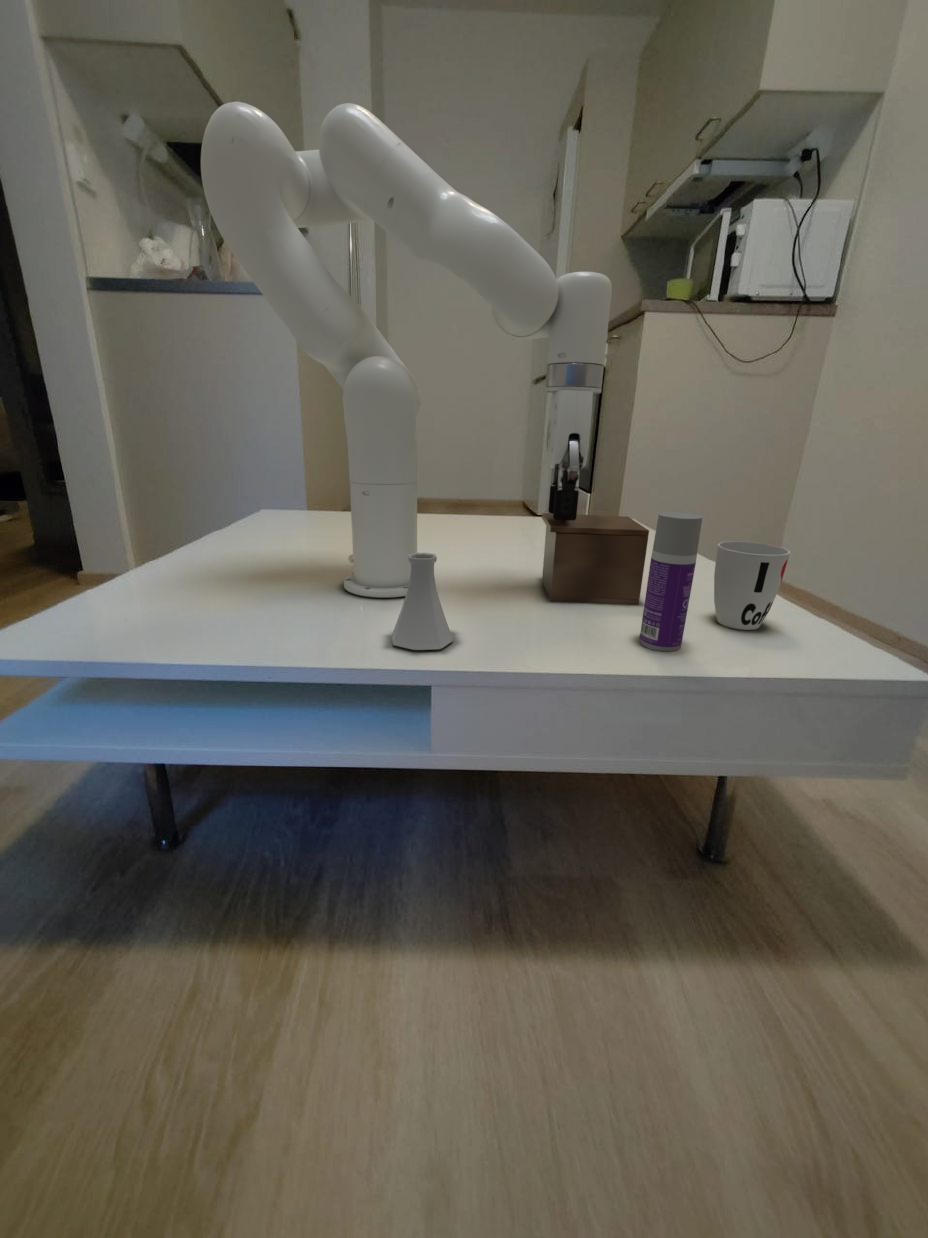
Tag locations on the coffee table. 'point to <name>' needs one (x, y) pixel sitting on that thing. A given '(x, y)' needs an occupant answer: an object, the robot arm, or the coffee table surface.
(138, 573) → the coffee table surface
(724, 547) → the cup
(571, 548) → the bin
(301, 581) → the coffee table surface
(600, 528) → the bin lid
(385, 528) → the robot arm
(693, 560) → the container
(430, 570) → the flask
